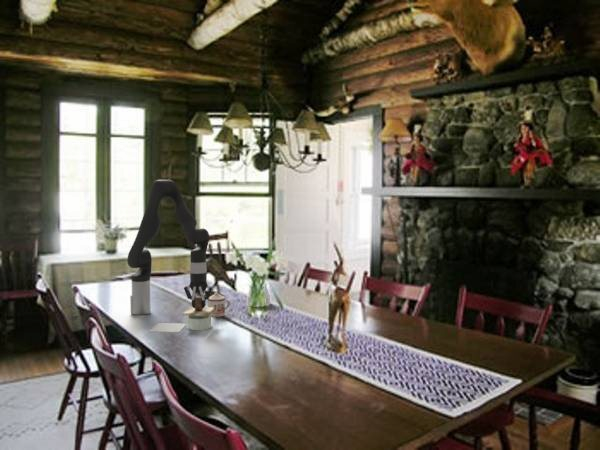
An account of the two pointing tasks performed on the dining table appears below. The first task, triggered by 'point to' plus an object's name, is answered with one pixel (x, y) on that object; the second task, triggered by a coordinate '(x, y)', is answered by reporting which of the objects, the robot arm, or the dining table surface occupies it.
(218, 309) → the teacup with lid
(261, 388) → the dining table surface
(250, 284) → the glass flower vase
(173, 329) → the mat
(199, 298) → the cover
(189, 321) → the bowl
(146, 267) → the robot arm
